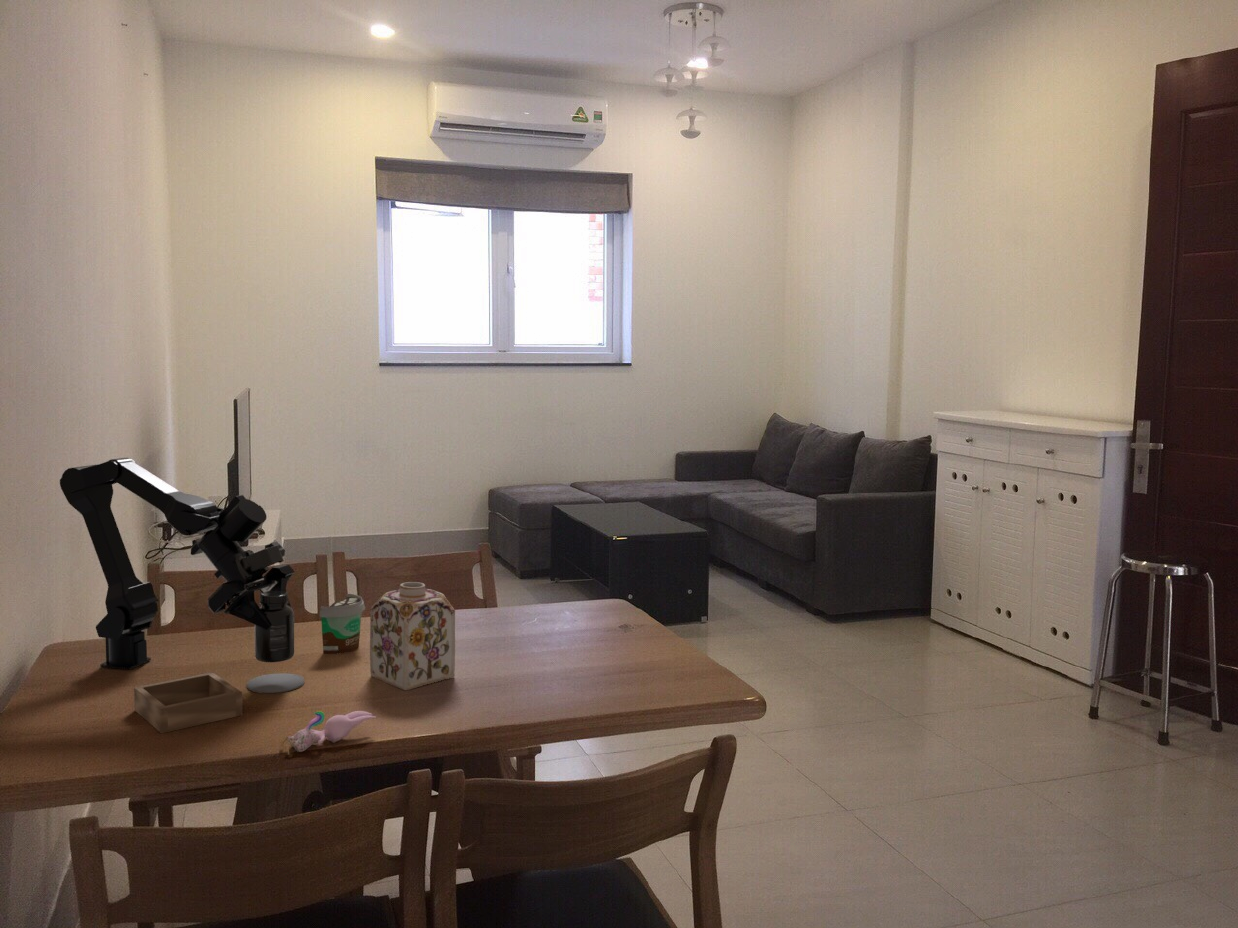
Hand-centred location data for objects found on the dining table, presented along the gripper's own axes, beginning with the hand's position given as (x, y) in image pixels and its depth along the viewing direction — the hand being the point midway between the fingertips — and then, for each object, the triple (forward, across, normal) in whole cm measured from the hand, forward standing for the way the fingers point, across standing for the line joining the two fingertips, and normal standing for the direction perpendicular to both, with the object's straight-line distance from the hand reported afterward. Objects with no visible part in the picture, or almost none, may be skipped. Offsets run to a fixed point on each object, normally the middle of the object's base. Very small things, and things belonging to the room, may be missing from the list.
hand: (280, 623), depth 183 cm
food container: (+8, +24, +9) cm, 27 cm away
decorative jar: (+22, +12, -6) cm, 26 cm away
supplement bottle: (+4, 0, +6) cm, 7 cm away
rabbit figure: (+24, -20, -8) cm, 33 cm away
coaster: (+8, 0, +9) cm, 12 cm away
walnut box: (+4, -17, +12) cm, 22 cm away
